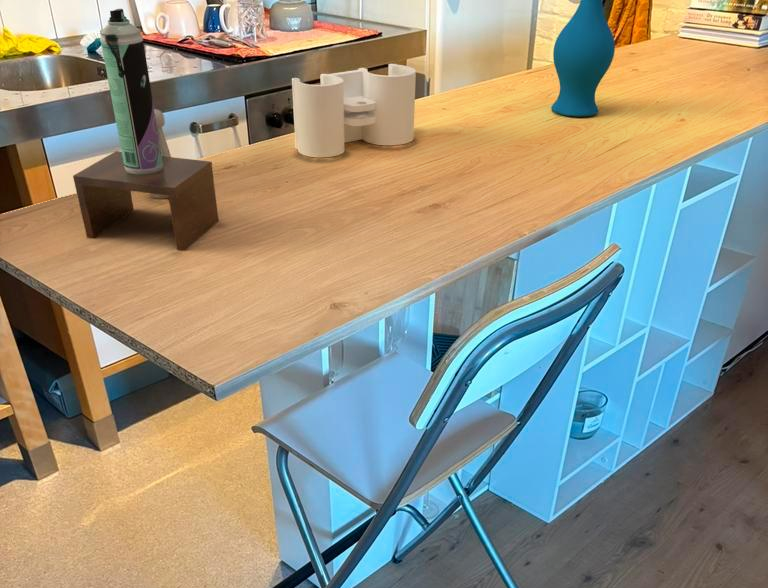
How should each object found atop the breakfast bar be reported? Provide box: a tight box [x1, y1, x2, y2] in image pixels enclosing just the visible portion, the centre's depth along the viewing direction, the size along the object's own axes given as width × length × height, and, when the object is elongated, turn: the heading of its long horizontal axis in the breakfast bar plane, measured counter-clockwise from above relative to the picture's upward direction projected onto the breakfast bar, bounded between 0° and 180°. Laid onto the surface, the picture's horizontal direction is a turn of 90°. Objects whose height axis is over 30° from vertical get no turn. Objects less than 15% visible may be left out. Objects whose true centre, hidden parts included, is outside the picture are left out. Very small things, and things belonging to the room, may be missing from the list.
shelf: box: [72, 150, 219, 251], centre depth 121 cm, size 16×12×9 cm
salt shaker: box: [148, 108, 172, 200], centre depth 132 cm, size 6×6×13 cm
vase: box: [550, 0, 616, 118], centre depth 169 cm, size 12×13×28 cm
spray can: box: [99, 8, 163, 174], centre depth 112 cm, size 6×6×20 cm
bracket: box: [291, 63, 417, 158], centre depth 154 cm, size 25×10×12 cm, turn 124°
